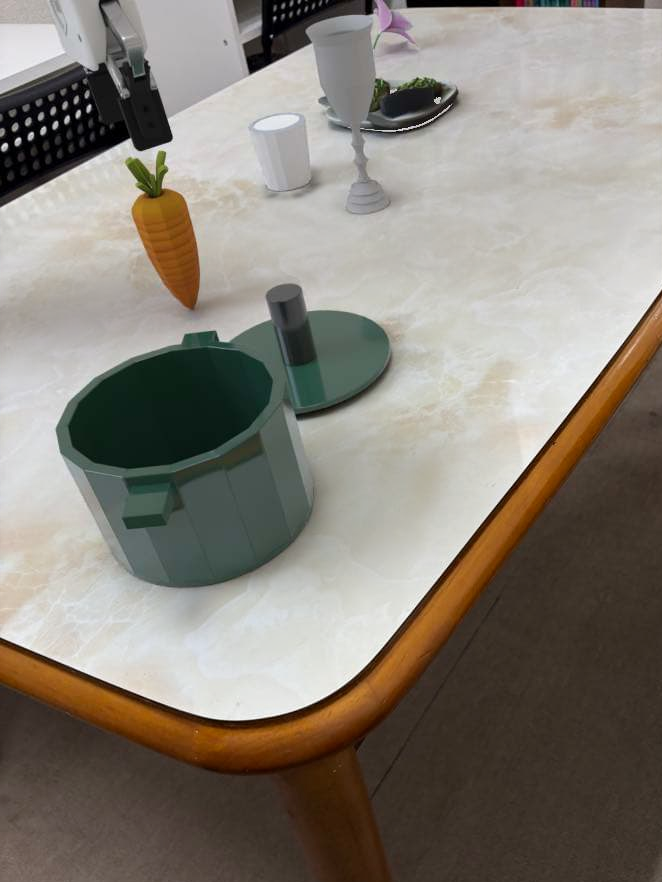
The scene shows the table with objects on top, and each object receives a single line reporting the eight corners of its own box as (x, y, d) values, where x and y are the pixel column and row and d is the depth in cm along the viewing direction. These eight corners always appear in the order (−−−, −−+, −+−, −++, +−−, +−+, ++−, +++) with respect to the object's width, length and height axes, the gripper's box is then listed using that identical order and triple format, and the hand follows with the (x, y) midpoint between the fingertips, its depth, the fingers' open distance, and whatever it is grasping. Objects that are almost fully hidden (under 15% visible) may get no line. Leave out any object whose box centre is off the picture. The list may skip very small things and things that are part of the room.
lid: (199, 431, 69) (171, 354, 64) (226, 331, 80) (204, 260, 75) (391, 410, 67) (378, 330, 63) (391, 311, 79) (380, 237, 74)
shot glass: (276, 170, 109) (263, 111, 104) (325, 170, 106) (314, 110, 102) (252, 192, 104) (237, 132, 99) (302, 193, 102) (290, 132, 97)
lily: (413, 69, 136) (431, 1, 132) (341, 45, 134) (358, -25, 130) (413, 74, 147) (430, 11, 143) (347, 51, 145) (362, -13, 141)
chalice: (351, 190, 101) (322, 16, 88) (405, 191, 99) (383, 12, 86) (328, 217, 96) (294, 38, 83) (385, 218, 94) (358, 34, 81)
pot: (77, 628, 54) (11, 518, 48) (143, 438, 69) (100, 334, 62) (302, 607, 53) (266, 492, 47) (321, 418, 68) (296, 311, 61)
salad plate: (289, 132, 118) (281, 97, 115) (357, 89, 129) (352, 55, 126) (409, 141, 110) (405, 103, 107) (472, 94, 120) (469, 58, 117)
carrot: (211, 291, 86) (164, 137, 76) (221, 312, 83) (173, 153, 72) (163, 305, 85) (109, 151, 75) (171, 327, 82) (115, 168, 72)
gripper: (-21, -111, 66) (70, 123, 77) (25, -101, 54) (124, 172, 66) (73, -132, 68) (148, 99, 80) (137, -127, 56) (213, 142, 68)
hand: (137, 132), depth 73 cm, fingers open, 9 cm apart
